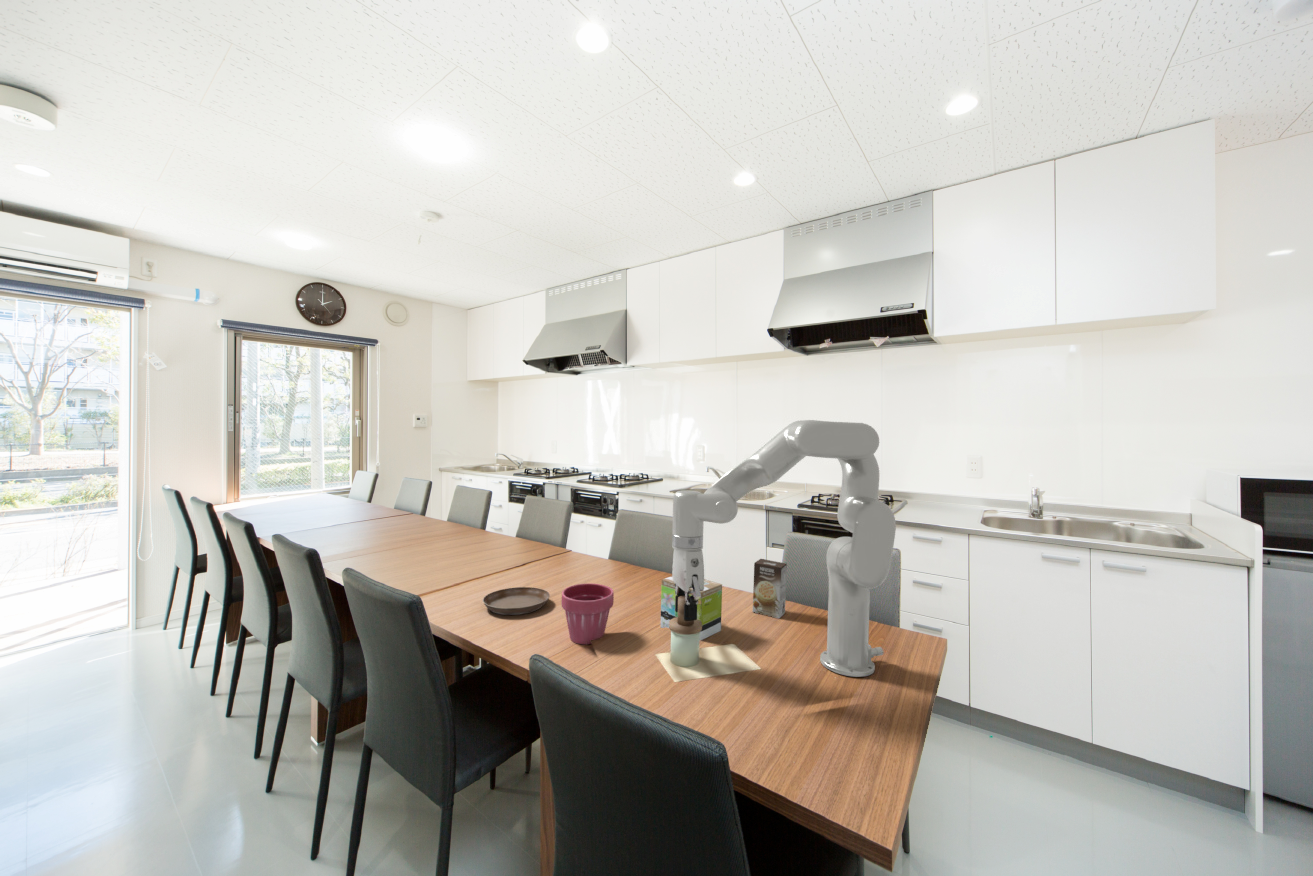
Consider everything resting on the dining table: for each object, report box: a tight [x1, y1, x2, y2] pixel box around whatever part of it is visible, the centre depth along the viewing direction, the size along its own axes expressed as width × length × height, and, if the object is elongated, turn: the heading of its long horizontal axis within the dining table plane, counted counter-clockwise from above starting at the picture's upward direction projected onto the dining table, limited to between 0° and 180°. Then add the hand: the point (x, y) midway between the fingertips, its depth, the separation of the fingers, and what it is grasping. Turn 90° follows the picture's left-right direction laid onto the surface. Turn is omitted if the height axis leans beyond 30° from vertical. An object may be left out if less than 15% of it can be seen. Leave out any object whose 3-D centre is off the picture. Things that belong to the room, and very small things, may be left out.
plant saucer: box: [482, 586, 551, 616], centre depth 155 cm, size 21×21×3 cm
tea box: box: [660, 575, 723, 641], centre depth 138 cm, size 15×10×15 cm, turn 47°
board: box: [654, 643, 762, 683], centre depth 118 cm, size 22×14×1 cm, turn 109°
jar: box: [670, 630, 701, 667], centre depth 118 cm, size 7×7×8 cm
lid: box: [668, 596, 702, 635], centre depth 118 cm, size 8×8×7 cm
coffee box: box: [752, 558, 788, 619], centre depth 154 cm, size 9×6×16 cm
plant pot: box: [561, 582, 615, 645], centre depth 132 cm, size 14×14×13 cm
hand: (685, 615), depth 118 cm, fingers open, 5 cm apart
